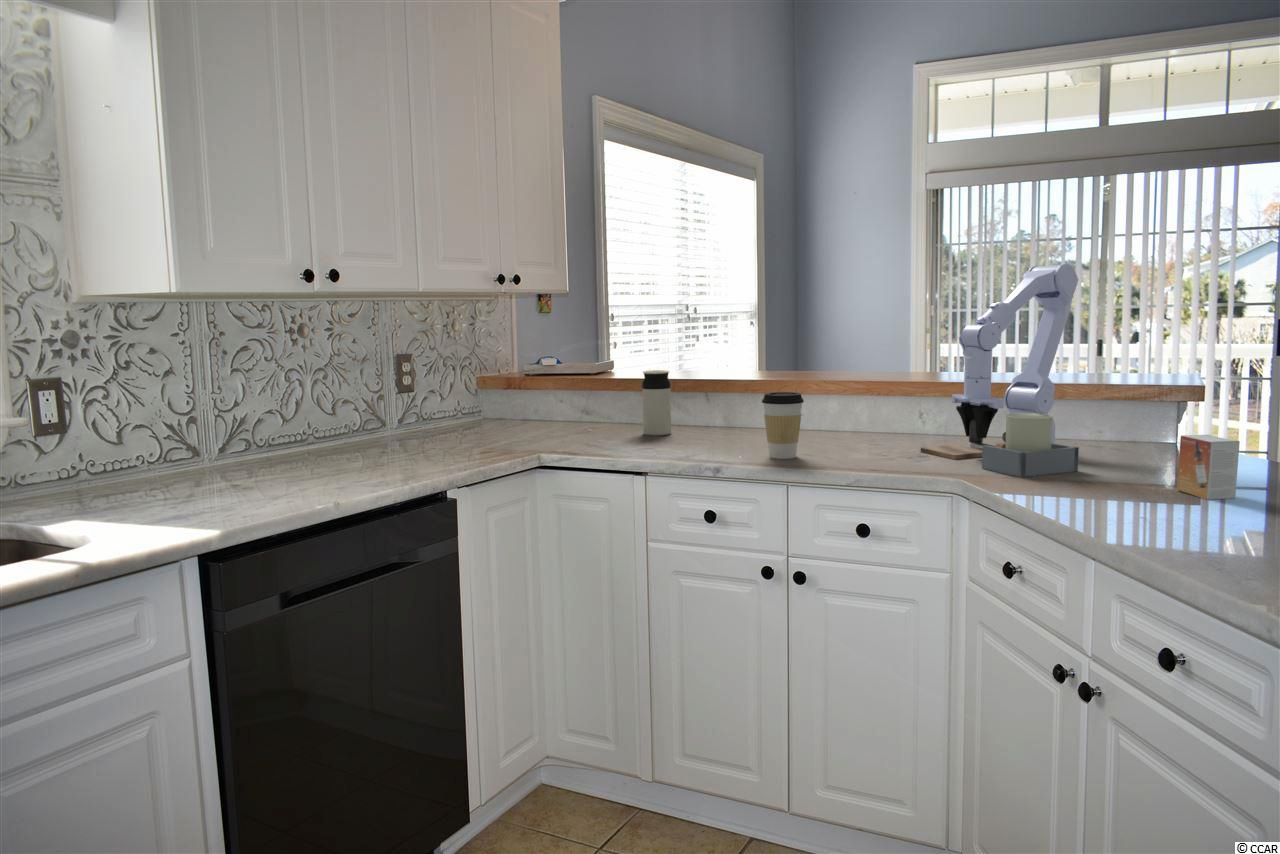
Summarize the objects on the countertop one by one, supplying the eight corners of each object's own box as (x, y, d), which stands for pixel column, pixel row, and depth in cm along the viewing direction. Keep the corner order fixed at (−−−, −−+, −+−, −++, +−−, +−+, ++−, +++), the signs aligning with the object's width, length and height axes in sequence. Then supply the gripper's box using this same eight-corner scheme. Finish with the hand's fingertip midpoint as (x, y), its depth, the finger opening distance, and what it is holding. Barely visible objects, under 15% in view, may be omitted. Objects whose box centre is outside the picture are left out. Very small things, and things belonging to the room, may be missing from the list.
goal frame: (1036, 462, 197) (1037, 440, 197) (1077, 470, 187) (1078, 447, 186) (981, 468, 192) (982, 445, 191) (1021, 477, 181) (1022, 453, 181)
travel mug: (671, 435, 251) (670, 371, 248) (643, 436, 251) (641, 372, 248) (671, 431, 259) (669, 369, 256) (643, 432, 259) (642, 370, 256)
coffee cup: (808, 454, 215) (808, 392, 213) (797, 461, 206) (797, 396, 204) (768, 452, 219) (768, 391, 217) (756, 458, 210) (756, 395, 208)
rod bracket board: (954, 448, 218) (954, 444, 218) (989, 455, 207) (989, 451, 207) (920, 451, 215) (920, 447, 214) (954, 459, 203) (954, 455, 203)
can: (1056, 473, 184) (1058, 416, 183) (1008, 473, 186) (1010, 416, 185) (1045, 465, 193) (1047, 410, 192) (1000, 465, 195) (1001, 410, 194)
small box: (1175, 491, 166) (1179, 434, 164) (1204, 489, 166) (1207, 433, 165) (1206, 500, 158) (1210, 441, 156) (1236, 498, 158) (1240, 440, 157)
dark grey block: (979, 454, 207) (980, 417, 205) (1021, 463, 195) (1022, 424, 194) (962, 456, 205) (963, 419, 204) (1003, 465, 193) (1004, 425, 192)
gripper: (941, 376, 207) (940, 434, 209) (986, 380, 194) (984, 442, 196) (966, 374, 210) (964, 432, 211) (1012, 379, 196) (1010, 440, 198)
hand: (976, 437), depth 204 cm, fingers closed on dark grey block, 3 cm apart
